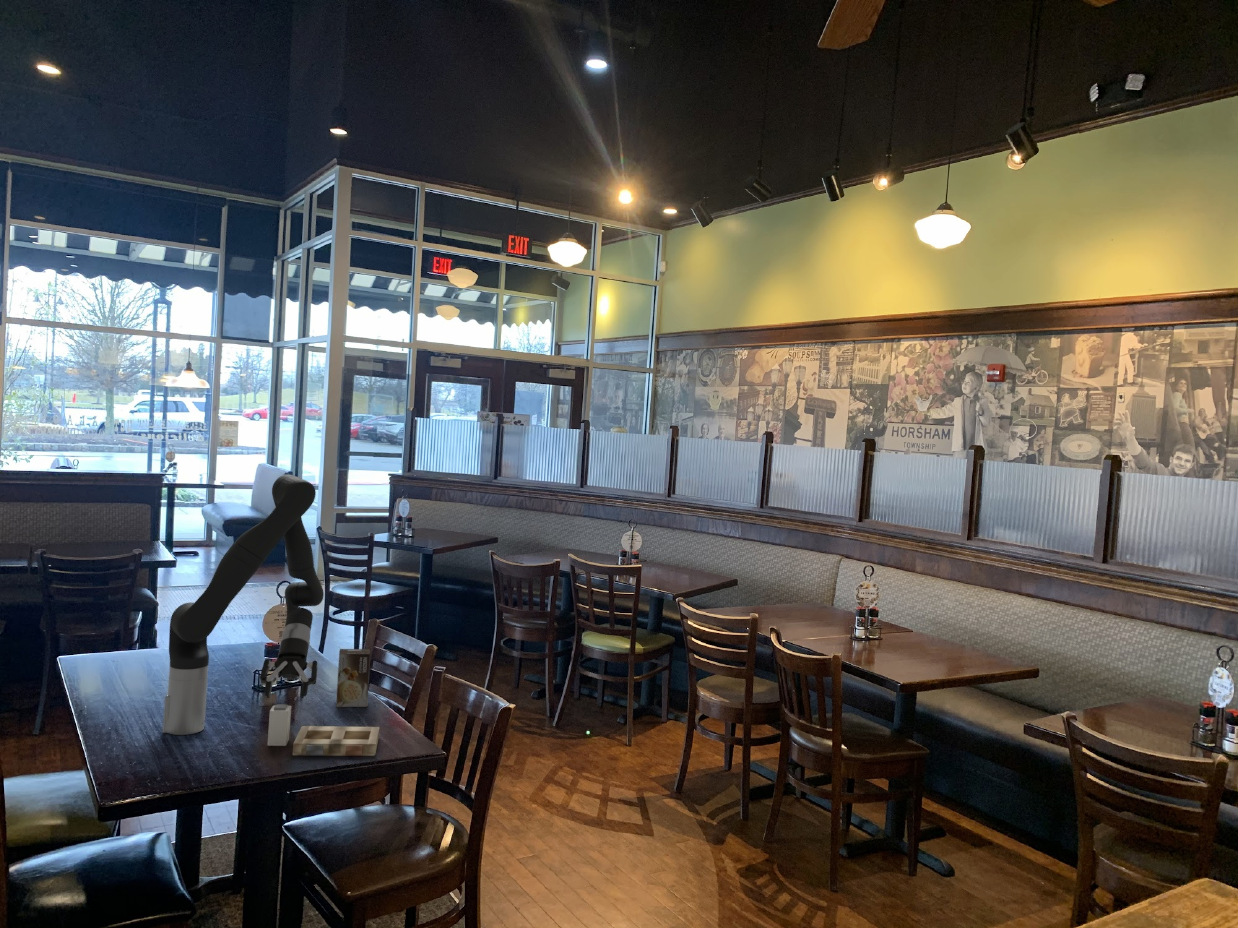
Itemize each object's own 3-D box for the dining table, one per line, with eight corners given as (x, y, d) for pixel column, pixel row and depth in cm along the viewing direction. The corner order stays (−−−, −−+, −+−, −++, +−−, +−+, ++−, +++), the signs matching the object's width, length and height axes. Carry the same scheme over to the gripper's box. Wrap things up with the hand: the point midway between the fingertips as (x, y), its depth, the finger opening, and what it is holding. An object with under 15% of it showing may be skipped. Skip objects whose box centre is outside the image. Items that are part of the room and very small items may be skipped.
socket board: (292, 755, 217) (293, 744, 217) (301, 737, 231) (301, 725, 231) (374, 756, 221) (375, 744, 221) (378, 737, 235) (379, 726, 234)
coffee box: (367, 700, 265) (371, 648, 265) (367, 707, 259) (371, 653, 259) (336, 700, 263) (339, 648, 262) (335, 707, 257) (338, 653, 256)
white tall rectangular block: (267, 745, 223) (269, 708, 223) (270, 739, 227) (273, 703, 227) (285, 745, 224) (288, 708, 224) (288, 739, 228) (291, 703, 228)
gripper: (266, 635, 237) (255, 689, 226) (321, 637, 240) (312, 690, 229) (269, 650, 243) (258, 703, 232) (322, 651, 246) (313, 703, 235)
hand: (285, 696), depth 231 cm, fingers open, 8 cm apart
